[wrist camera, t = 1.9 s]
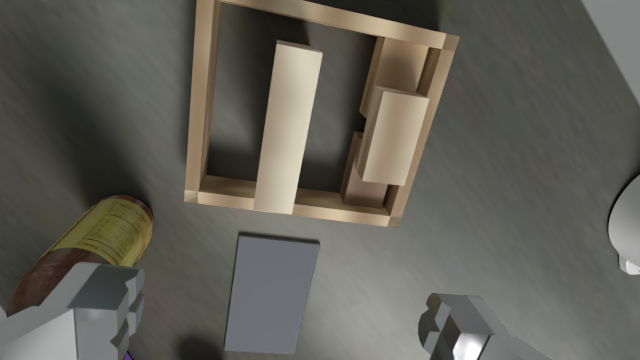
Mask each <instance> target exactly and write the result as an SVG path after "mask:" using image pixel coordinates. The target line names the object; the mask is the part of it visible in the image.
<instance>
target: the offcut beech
mask: <svg viewBox="0 0 640 360" xmlns="http://www.w3.org/2000/svg"><path fill="white" fill-rule="evenodd" d="M428 102H429V98H427V97H425V96H423V95H421V94H419V93H417V92H411V91H405V90H399V89H393V88H387V87H381V86H375V85H374V90H373V94H372V98H371V103H370V107H369V112H368V116H367V121H366V125H365V129H364V134H363V138H362V143H361V147H360V151H359V156H358V160H357V165H356V170H357V172H358V174H359V176H360V178H361V179H362V181H367V182H375V183H384V184H392V185H401V186H404V185H405V182H406V178H407V175H408V171H409V168H410V165H411V161H412V158H413V154H414V151H415V147H416V144H417V140H418V137H419V133H420V130H421V126H422V123H423V120H424V116H425V113H426V109H427V106H428Z"/></svg>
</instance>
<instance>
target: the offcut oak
mask: <svg viewBox="0 0 640 360" xmlns="http://www.w3.org/2000/svg"><path fill="white" fill-rule="evenodd" d="M428 48H429V47H427V46H423V45H418V44H414V43H409V42H405V41H400V40H396V39H391V38H387V37H377V39H376V44H375V48H374V52H373V56H372V60H371V64H370V68H369V73H368V77H367V81H366V85H365V89H364V93H363V97H362V102H361V106H360V110H359V112H360V113H361V114H362V115H363V116H364V117H365V118H367V116H368V112H369V107H370V103H371V98H372V94H373V90H374V85H375V86H381V87H387V88H393V89H399V90H405V91H411V92H416V89H417V86H418V82H419V79H420V76H421V72H422V69H423V65H424V62H425V59H426V55H427V52H428Z"/></svg>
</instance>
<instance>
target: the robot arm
mask: <svg viewBox="0 0 640 360" xmlns="http://www.w3.org/2000/svg"><path fill="white" fill-rule="evenodd" d="M609 237H610V241H611V243H612V245H613V246H614V247H615V249H616V250H617V252H618V253H619V264H620V268H621V270H623V271H625V272H626V273H628V274H632V275H633V274H640V175H639V176H637V177H636V178H635V179H634V180H633V181H632V182H631V183H630V184H629V185H628V186H627V188H626V189H625V190H624V191H623V193H622V194H621V196H620V197H619V199H618V200H617V202H616V204H615V206H614V208H613V210H612V213H611V216H610V220H609ZM144 281H145V277H144V269H143V268H138V267H129V266H119V265H110V264H99V263H88V262H79V263H77V264H75V265H74V266H73V267H72V269H71V270H70V271H69V272H68V273H67V274H66V276H65V277H64V278H63V279H62V280H61V281H60V283H59V284H58V285H57V286H56V287H55V288H54V290H53V291H52V292H51V293H50V294H49V295H48V297H47V298H46V299H45V300H44V301H43V303H42V304H41V305H40V306H31V307H29V308H27V309H25V310H23V311H20V312H18V313H16V314H14V315H12V316H10V317H8V318H6V319H4V320H2V321H0V360H123V358H124V356H125V354H126V352H127V349H128V347H129V336H131V335H132V334H134V333H135V332H136V330H137V327H138V325H139V323H140V319H141V316H142V312H143V306H144V294H143V293H142V291H141V290H140V289H141V287H142V285H143V283H144ZM426 305H427V307H428V310H427V311H426V312H425V313H423V314H422V315H421V318H420V321H419V324H418V334H419V339H420V342H421V344H422V347H423V348H424V349H425V350H426V351H427V352H428V353H430V354H431V357H430V360H551V359H549V358H548V357H546V356H545V355H543V354H542V353H540V352H539V351H537V350H536V349H534V348H533V347H531V346H530V345H528V344H527V343H525V342H524V341H522V340H521V339H519V338H518V337H512V336H511V335H510V333H509V332H508V331H507V329H506V328H505V327H504V325H503V324H502V323H501V322H500V320H499V319H498V318H497V316H496V315H495V314H494V313H493V311H492V310H491V309H490V307H489V306H488V305H487V304H486V302H485V301H484V300H483V299H482V298H481V297H479V296H472V295H451V294H438V293H432V294H431V295H430V296H429V297H428V300H427V302H426Z"/></svg>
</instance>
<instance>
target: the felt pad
mask: <svg viewBox="0 0 640 360" xmlns="http://www.w3.org/2000/svg"><path fill="white" fill-rule="evenodd" d="M319 247H320V243H314V242H305V241H296V240H287V239H278V238H269V237H260V236H251V235H242V234H240V235H239V242H238V250H237V257H236V265H235V272H234V280H233V287H232V295H231V303H230V310H229V318H228V325H227V333H226V340H225V348H224V351H239V352H258V353H277V354H295V350H296V346H297V341H298V337H299V333H300V328H301V324H302V320H303V316H304V311H305V307H306V303H307V298H308V294H309V290H310V285H311V281H312V277H313V273H314V268H315V264H316V260H317V255H318V251H319Z"/></svg>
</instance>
